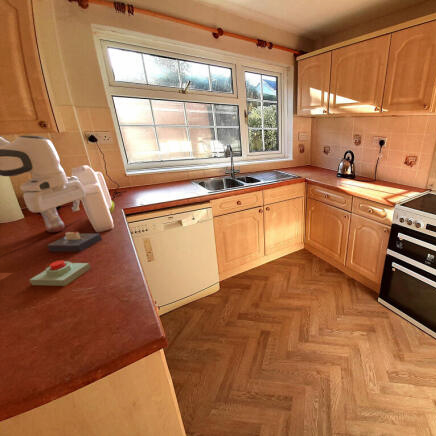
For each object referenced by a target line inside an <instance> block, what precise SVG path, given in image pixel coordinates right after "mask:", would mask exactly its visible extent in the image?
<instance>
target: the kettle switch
mask: <svg viewBox="0 0 436 436" xmlns="http://www.w3.org/2000/svg"><path fill="white" fill-rule="evenodd" d="M64 262H65V260H61V259H60V260H56V261H53V262H52V263H50V264H49V267H51V269H52V270H57V269H60V268H63V267H64V266H66V265H65V263H64Z"/></svg>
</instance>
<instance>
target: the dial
mask: <svg viewBox="0 0 436 436" xmlns="http://www.w3.org/2000/svg"><path fill="white" fill-rule="evenodd" d="M79 234H80V232H79V231H67V232H65V233H64V235H65V236H66V237H67V240H79V239H81V237H80V235H79Z"/></svg>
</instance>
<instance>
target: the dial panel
mask: <svg viewBox="0 0 436 436" xmlns="http://www.w3.org/2000/svg"><path fill="white" fill-rule="evenodd" d="M79 235H80V237H81V239H79V240H67V237H66V235H65V236H63V237H61V238H59V239H57V240H54V241H53V242H51V243H48V244H47V245H46V246H47V249H48V251H49V252H51V253H52V252H53V253H55V252H56V253H57V252H59V253H61V252H67V253H68V252H69V253H70V252H71V253H79V252H81V253H82V252H83V251H84V250H87V249H88V248H90V247H91V246H94V245H95V244H97V243H98V242H100V241H102V239H103V238H102V236H101V234H100V233H79Z"/></svg>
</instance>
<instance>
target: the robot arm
mask: <svg viewBox="0 0 436 436" xmlns="http://www.w3.org/2000/svg"><path fill="white" fill-rule="evenodd" d="M25 173H26V174H27V173H30V174H31V176H32V178H30V179H29V180H28V181H26V182H24V183H22V184H21V185H20V186H19V189H20V190H21V191H22V192H24V193H23V194H22V195H23V197H22V198H23V200H24V203H25V206H26V207H27V209H28V211H29V212H31V213H35V214H36V213H40V212H43V213H44V214H46V215H47V216H49V218H50V220H56V219H58V217H57V215H54V214H52V213H51V212H52V210H51V209H52V208H55V207H56V208H57V207H59V206H60V207H61V206H63V205H66V204H69V203H73V204H72V207H71V210H72V212H79V211H81V209H80V203H81V202H80V201H81V199H80V198H83V197H85V196H86V192H85V190H84V188H83V186H82V184H81V183H80V182H79V179H78V178H77V177H74V176H72V175H70V176H67V174H66V172H65V170H64V168H63V167H62V165H61V159H60V157H59V154H58V151H57V149H56V147H55V146H54V144H53V142H52V140H50V139H48V138H46V137H44V136H40V135H28V134H25V135H19V136H17V138H16V139H14V140H13V141H10V140H8V139H7V138H5V137H4V136H2V135H0V177H16V176H20V175H22V174H25Z"/></svg>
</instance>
